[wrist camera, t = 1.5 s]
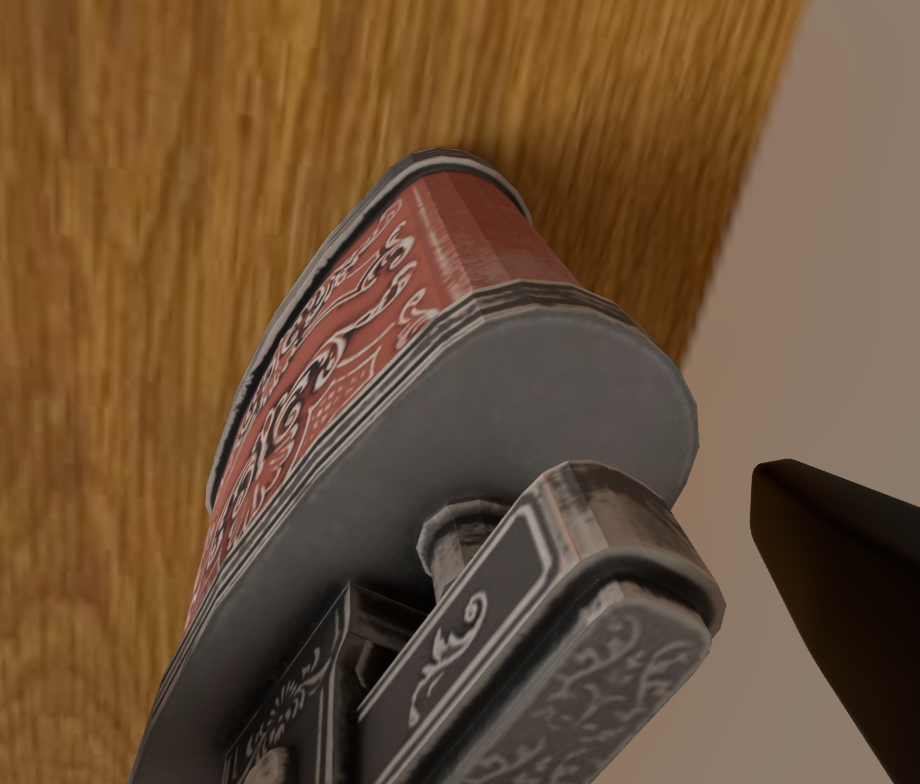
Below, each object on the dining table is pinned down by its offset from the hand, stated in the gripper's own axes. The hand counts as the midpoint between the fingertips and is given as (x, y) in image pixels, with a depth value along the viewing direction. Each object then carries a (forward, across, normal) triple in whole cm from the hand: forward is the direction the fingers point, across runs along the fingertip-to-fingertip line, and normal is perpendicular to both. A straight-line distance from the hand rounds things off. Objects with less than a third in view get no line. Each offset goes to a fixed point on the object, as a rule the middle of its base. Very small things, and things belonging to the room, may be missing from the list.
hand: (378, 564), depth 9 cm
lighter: (+6, 0, 0) cm, 6 cm away
